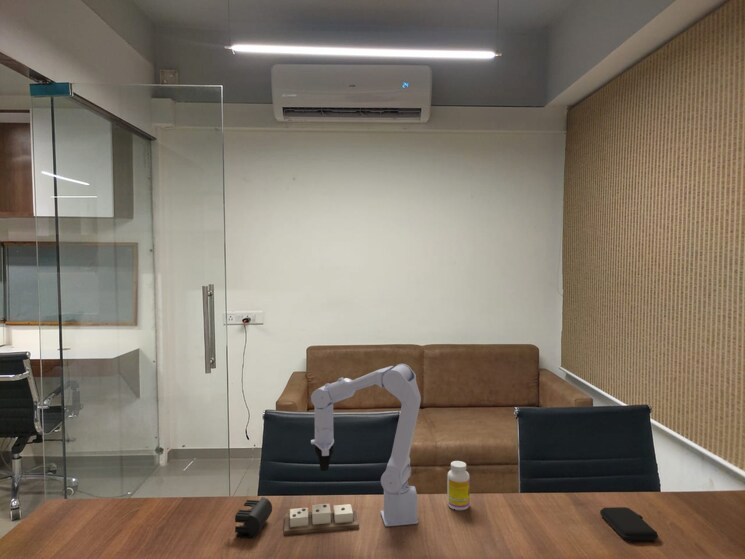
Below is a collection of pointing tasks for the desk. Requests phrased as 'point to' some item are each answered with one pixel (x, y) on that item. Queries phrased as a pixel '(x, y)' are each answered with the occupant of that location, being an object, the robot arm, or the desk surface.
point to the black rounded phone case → (629, 524)
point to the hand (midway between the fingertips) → (324, 469)
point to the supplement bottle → (458, 486)
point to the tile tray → (320, 525)
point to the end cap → (252, 518)
